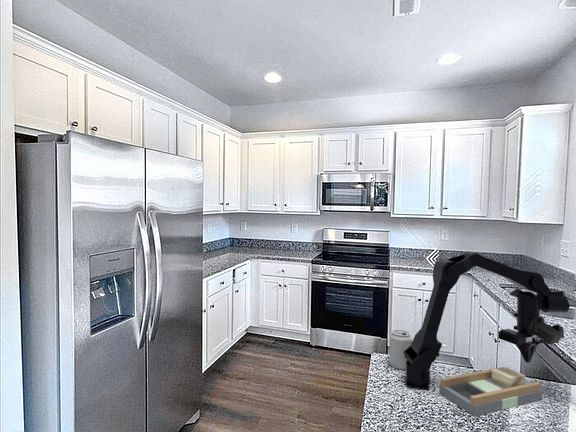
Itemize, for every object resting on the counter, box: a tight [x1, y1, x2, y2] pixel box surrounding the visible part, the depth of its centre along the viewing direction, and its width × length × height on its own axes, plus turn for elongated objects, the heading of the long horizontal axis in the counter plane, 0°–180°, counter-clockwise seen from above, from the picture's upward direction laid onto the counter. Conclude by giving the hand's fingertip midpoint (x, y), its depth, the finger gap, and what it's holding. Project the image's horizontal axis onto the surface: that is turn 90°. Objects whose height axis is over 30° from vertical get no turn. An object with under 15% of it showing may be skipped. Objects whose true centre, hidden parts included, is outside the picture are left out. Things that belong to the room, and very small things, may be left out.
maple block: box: [491, 366, 526, 388], centre depth 99 cm, size 6×6×4 cm
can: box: [388, 329, 413, 371], centre depth 115 cm, size 8×8×12 cm
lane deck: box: [438, 366, 543, 417], centre depth 96 cm, size 26×12×4 cm, turn 110°
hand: (527, 362), depth 102 cm, fingers closed
